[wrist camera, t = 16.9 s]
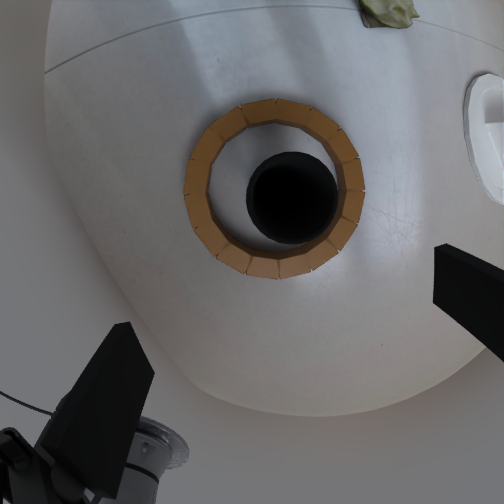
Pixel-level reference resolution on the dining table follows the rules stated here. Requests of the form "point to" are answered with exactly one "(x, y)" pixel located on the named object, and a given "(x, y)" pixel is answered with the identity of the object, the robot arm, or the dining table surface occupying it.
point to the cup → (292, 197)
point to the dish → (486, 133)
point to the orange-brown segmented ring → (288, 260)
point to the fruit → (388, 13)
